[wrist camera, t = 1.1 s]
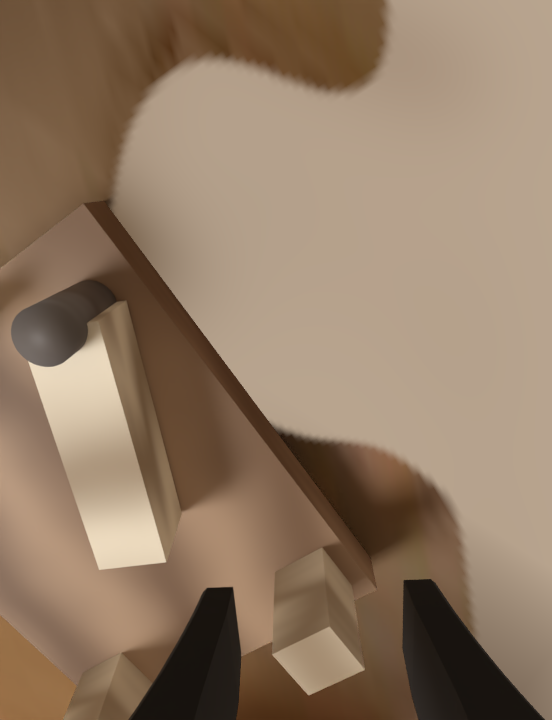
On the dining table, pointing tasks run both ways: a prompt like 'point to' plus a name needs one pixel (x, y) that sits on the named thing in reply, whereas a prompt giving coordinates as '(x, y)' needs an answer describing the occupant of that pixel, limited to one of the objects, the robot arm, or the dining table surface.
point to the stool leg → (102, 421)
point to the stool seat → (195, 494)
